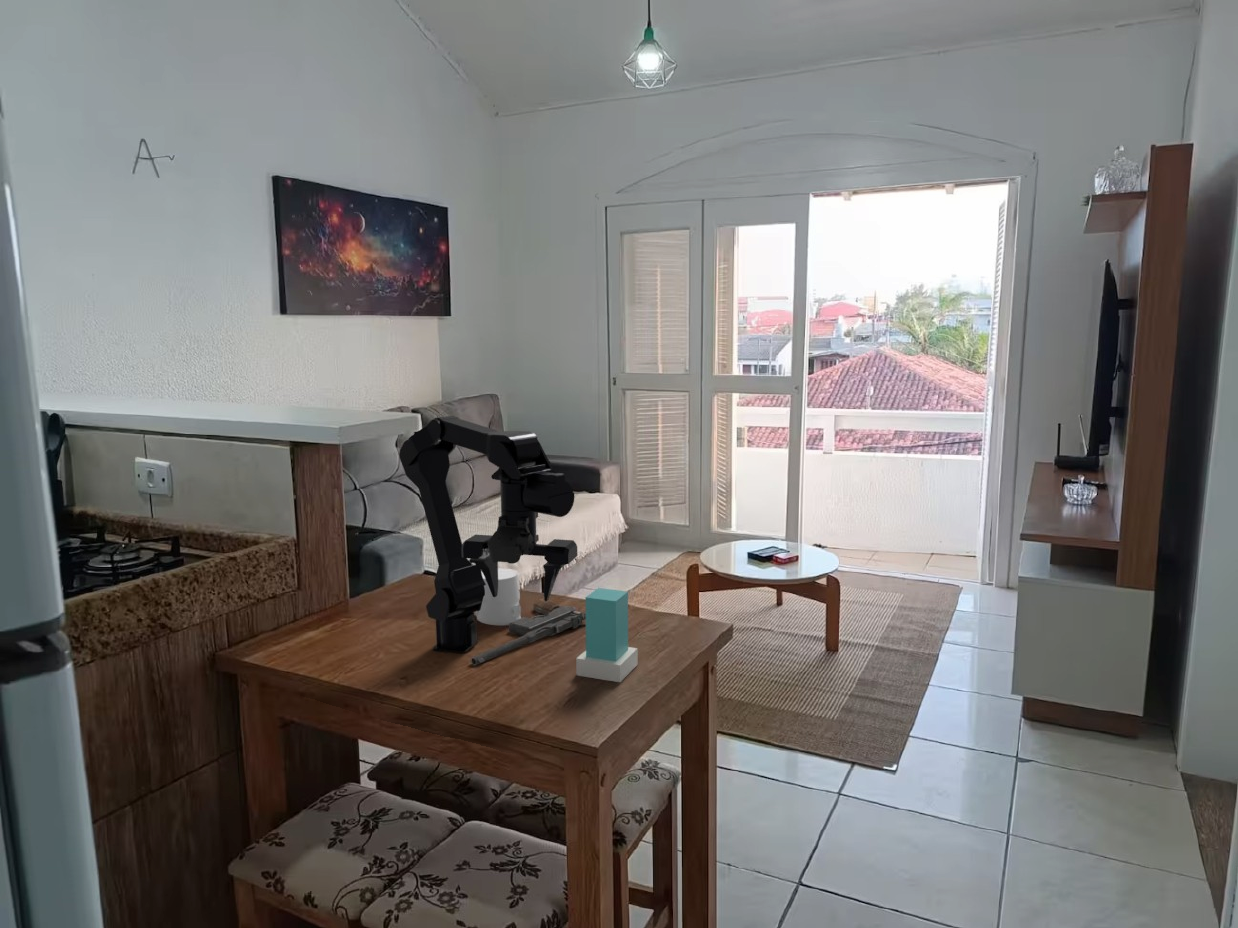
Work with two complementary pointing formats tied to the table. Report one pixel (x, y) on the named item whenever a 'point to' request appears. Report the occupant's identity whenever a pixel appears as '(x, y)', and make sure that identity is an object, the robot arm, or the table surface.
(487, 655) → the firearm
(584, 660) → the base brick
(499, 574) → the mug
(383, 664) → the table surface
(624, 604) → the tall brick
